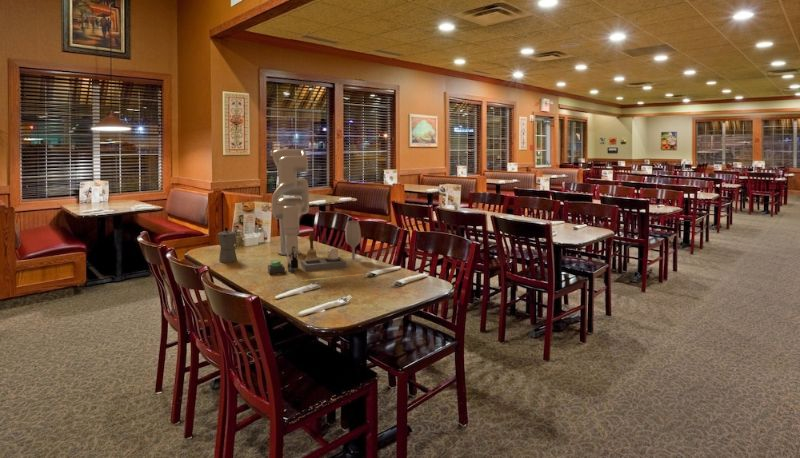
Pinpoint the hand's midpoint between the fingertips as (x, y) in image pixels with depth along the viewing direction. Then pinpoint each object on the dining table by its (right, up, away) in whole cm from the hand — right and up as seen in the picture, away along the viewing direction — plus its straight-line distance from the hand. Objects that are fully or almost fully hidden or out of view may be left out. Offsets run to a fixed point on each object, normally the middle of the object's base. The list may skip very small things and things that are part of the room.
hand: (292, 265), depth 245 cm
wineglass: (+28, +1, +20) cm, 34 cm away
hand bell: (+5, +1, +22) cm, 22 cm away
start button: (-7, -1, -3) cm, 8 cm away
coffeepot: (-39, +1, +23) cm, 46 cm away
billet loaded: (+19, 0, +8) cm, 20 cm away
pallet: (+14, -2, +6) cm, 15 cm away
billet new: (0, -3, +1) cm, 3 cm away
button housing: (-7, -3, -2) cm, 8 cm away
